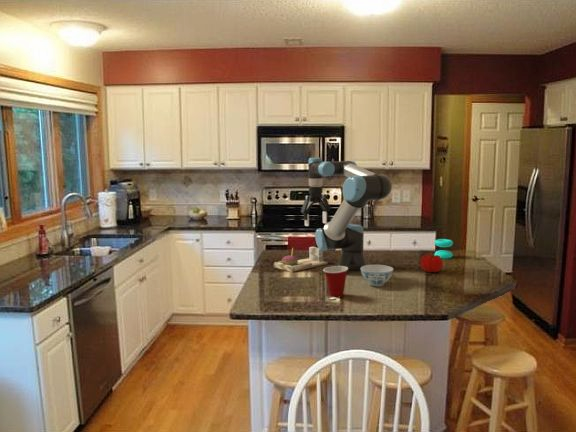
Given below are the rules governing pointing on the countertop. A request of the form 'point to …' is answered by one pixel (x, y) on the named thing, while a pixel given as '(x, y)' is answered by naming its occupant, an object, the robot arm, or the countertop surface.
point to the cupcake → (290, 259)
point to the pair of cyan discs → (443, 253)
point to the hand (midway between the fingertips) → (315, 224)
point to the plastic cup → (336, 279)
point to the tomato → (431, 263)
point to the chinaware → (376, 274)
